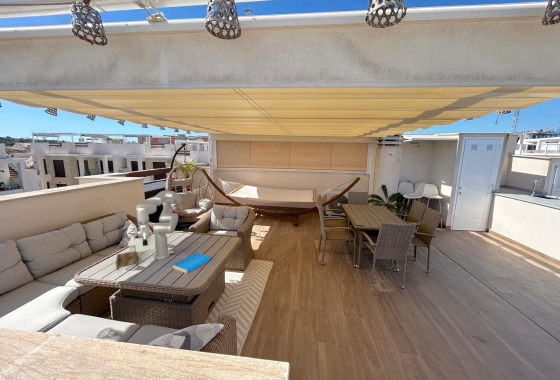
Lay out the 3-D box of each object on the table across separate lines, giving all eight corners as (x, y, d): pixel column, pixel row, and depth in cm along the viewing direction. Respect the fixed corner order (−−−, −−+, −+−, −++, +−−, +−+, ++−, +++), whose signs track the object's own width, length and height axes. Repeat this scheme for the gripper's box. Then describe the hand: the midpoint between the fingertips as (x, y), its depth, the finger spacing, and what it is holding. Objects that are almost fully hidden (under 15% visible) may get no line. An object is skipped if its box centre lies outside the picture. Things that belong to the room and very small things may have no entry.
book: (172, 264, 181) (196, 251, 203) (172, 269, 182) (196, 256, 204) (187, 269, 174) (210, 256, 196) (187, 274, 175) (210, 260, 197)
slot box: (137, 258, 197) (136, 250, 196) (137, 265, 185) (136, 257, 184) (118, 262, 190) (117, 254, 189) (116, 269, 178) (115, 261, 177)
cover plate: (155, 247, 179) (154, 236, 178) (155, 248, 178) (154, 236, 176) (136, 251, 173) (134, 239, 171) (135, 252, 171) (134, 239, 169)
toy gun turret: (144, 250, 212) (142, 232, 209) (140, 257, 200) (139, 238, 196) (129, 252, 208) (127, 234, 205) (125, 258, 196) (123, 239, 192)
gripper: (149, 224, 167) (151, 247, 170) (148, 218, 180) (150, 240, 183) (137, 226, 163) (139, 249, 166) (137, 220, 176) (139, 242, 179)
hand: (145, 244), depth 174 cm, fingers closed on cover plate, 2 cm apart
